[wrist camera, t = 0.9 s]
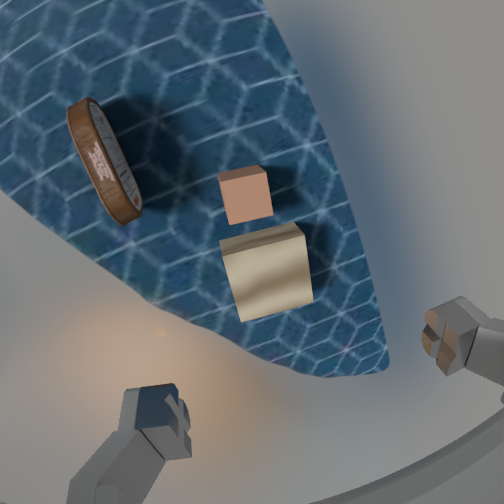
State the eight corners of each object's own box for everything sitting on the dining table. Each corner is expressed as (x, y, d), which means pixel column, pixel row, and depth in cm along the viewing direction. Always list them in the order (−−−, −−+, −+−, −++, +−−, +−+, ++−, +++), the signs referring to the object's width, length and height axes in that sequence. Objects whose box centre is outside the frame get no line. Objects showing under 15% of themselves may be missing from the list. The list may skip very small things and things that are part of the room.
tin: (81, 107, 31) (53, 107, 23) (103, 94, 31) (79, 91, 23) (130, 213, 37) (114, 239, 30) (152, 203, 37) (141, 226, 30)
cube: (217, 173, 37) (220, 181, 33) (257, 164, 38) (266, 172, 33) (225, 211, 40) (229, 225, 35) (264, 202, 40) (273, 215, 35)
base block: (219, 239, 41) (222, 256, 37) (292, 221, 42) (304, 235, 37) (236, 301, 46) (241, 322, 41) (302, 283, 46) (313, 302, 42)
